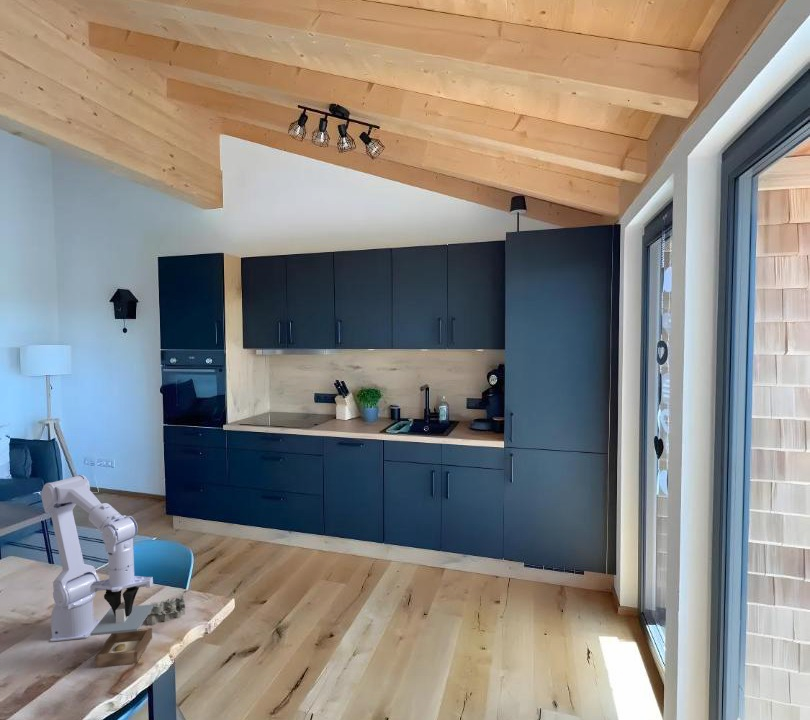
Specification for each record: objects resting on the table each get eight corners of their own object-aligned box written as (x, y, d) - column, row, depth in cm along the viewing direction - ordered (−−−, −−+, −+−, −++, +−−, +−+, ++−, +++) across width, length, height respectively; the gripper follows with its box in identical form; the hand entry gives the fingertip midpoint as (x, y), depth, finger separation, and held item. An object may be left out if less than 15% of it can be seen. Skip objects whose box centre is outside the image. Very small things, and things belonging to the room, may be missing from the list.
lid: (90, 635, 117) (89, 620, 117) (110, 610, 128) (110, 596, 128) (137, 631, 119) (136, 615, 119) (153, 606, 130) (153, 592, 130)
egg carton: (145, 628, 135) (144, 615, 134) (146, 614, 141) (145, 601, 141) (185, 617, 140) (185, 604, 139) (184, 604, 146) (184, 592, 146)
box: (95, 667, 118) (94, 656, 118) (113, 642, 128) (112, 631, 128) (137, 663, 120) (137, 652, 120) (152, 638, 130) (151, 628, 130)
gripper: (83, 575, 118) (85, 626, 118) (144, 570, 120) (146, 621, 121) (97, 561, 125) (99, 610, 125) (155, 557, 127) (156, 605, 128)
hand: (123, 614), depth 123 cm, fingers closed on lid, 2 cm apart
